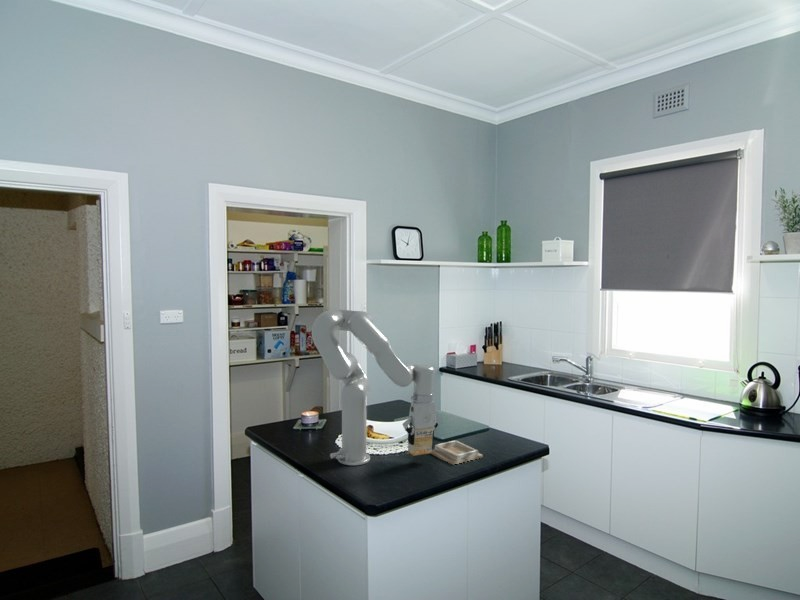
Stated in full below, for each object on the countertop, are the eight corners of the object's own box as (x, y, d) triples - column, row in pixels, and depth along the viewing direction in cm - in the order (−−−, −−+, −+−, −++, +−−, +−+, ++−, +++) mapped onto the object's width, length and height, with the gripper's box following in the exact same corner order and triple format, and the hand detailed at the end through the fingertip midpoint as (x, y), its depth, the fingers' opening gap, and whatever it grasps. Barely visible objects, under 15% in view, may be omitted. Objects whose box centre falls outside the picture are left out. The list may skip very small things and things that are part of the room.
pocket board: (453, 465, 191) (453, 457, 190) (430, 453, 203) (430, 445, 203) (482, 457, 199) (482, 450, 199) (458, 446, 211) (458, 438, 211)
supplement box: (413, 456, 189) (415, 422, 188) (407, 451, 193) (409, 418, 192) (432, 453, 193) (434, 420, 192) (425, 449, 197) (427, 416, 196)
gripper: (409, 402, 183) (407, 448, 184) (447, 397, 193) (444, 441, 194) (398, 397, 190) (396, 442, 191) (435, 393, 199) (433, 435, 200)
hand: (420, 441), depth 192 cm, fingers closed on supplement box, 8 cm apart
